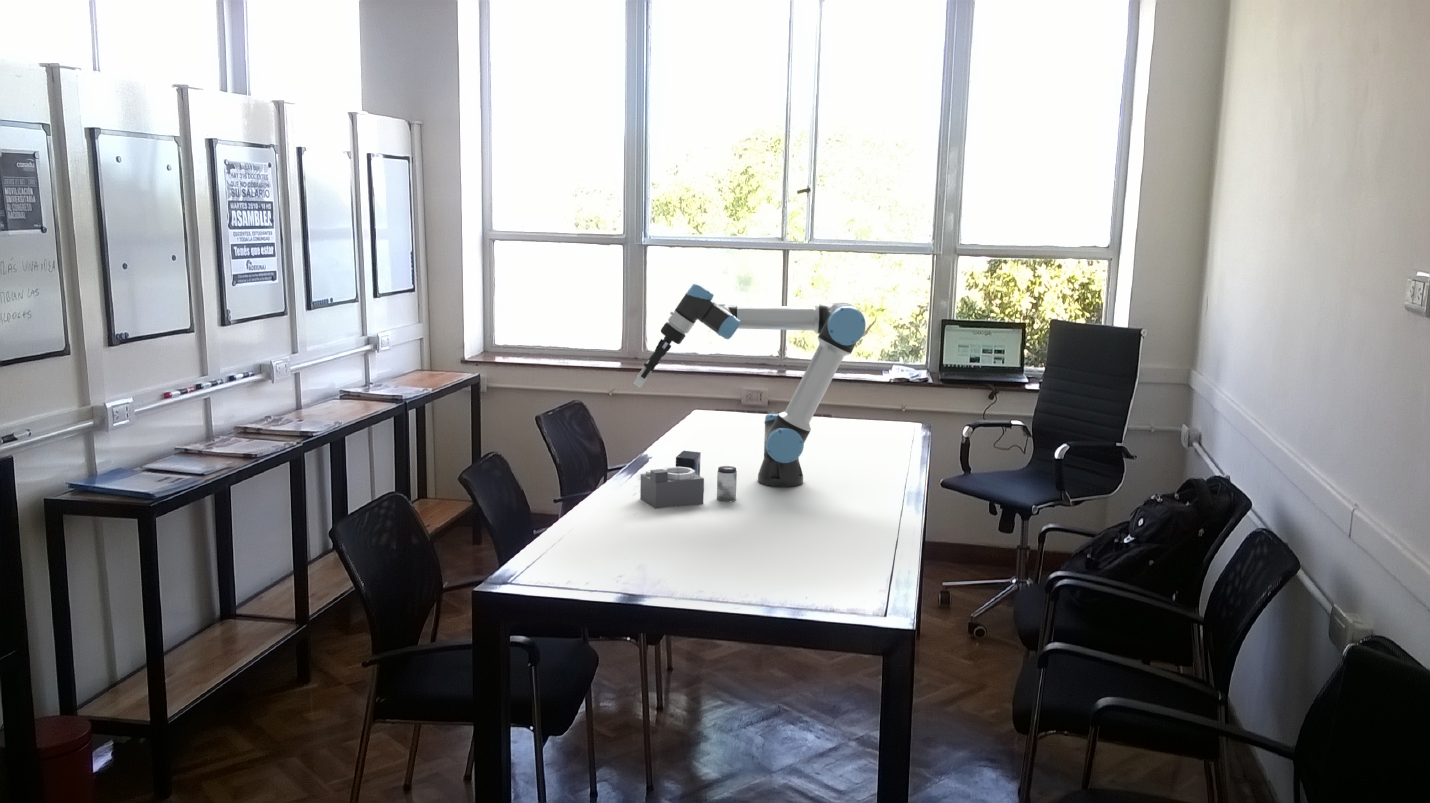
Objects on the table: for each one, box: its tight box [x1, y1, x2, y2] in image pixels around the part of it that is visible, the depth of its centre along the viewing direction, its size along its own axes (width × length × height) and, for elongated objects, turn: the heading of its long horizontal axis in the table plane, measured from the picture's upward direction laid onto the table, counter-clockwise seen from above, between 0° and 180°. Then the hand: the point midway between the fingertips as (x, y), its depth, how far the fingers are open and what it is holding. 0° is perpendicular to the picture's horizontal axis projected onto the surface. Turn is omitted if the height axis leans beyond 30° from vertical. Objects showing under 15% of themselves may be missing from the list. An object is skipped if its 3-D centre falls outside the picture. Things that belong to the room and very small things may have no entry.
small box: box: [675, 450, 702, 477], centre depth 359 cm, size 11×6×10 cm, turn 168°
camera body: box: [639, 466, 705, 510], centre depth 339 cm, size 16×12×11 cm
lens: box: [716, 465, 738, 503], centre depth 343 cm, size 6×6×10 cm
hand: (638, 382), depth 349 cm, fingers open, 13 cm apart
